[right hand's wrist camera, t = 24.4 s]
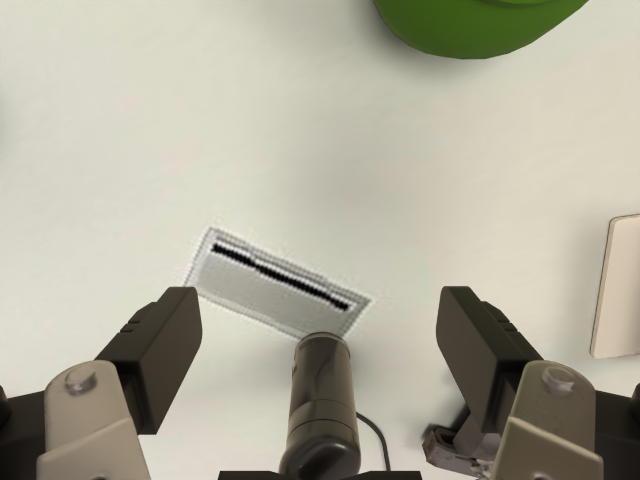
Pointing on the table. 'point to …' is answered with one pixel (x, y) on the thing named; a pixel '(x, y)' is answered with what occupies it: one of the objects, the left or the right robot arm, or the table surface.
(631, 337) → the tablet stand
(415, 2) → the vase
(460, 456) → the toy
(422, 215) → the table surface
